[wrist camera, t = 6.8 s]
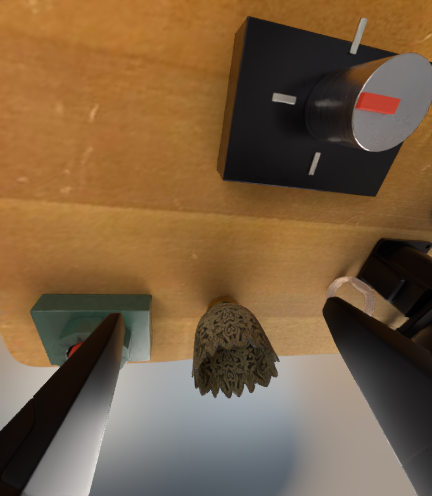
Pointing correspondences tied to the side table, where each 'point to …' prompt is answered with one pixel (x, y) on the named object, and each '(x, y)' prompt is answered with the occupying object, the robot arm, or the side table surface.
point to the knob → (371, 102)
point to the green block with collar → (92, 323)
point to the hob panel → (291, 112)
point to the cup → (231, 350)
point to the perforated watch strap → (358, 285)
